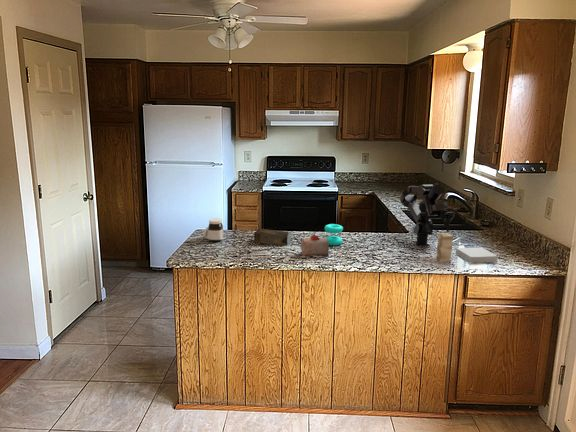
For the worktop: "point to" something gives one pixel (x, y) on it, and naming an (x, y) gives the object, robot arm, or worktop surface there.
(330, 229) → the donuts
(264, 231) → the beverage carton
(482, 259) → the light grey slab
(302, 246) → the food item
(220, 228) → the spread jar
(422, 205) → the aerosol can
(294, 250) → the worktop surface
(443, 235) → the birch block
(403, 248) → the worktop surface
